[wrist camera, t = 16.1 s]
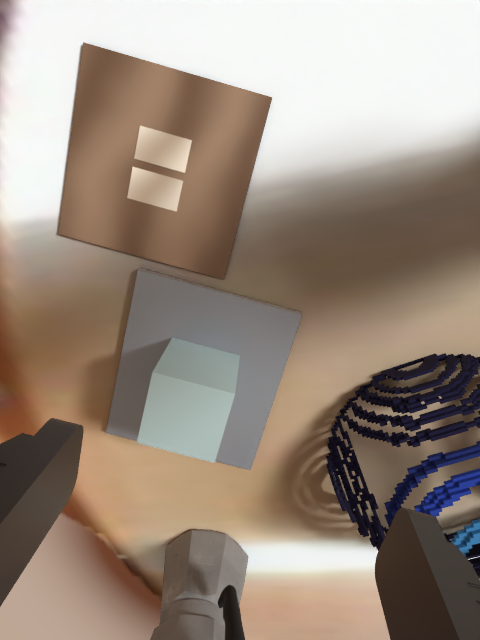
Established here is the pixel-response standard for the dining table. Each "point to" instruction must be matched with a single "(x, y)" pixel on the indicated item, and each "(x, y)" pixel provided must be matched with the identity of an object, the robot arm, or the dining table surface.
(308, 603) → the dining table surface
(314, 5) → the dining table surface
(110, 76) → the brown coaster
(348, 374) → the dining table surface
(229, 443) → the slate plate
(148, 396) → the pale green block
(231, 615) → the coffeepot
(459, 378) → the decorative bowl
